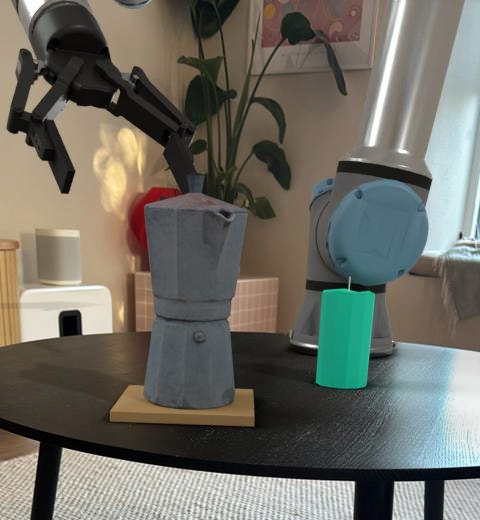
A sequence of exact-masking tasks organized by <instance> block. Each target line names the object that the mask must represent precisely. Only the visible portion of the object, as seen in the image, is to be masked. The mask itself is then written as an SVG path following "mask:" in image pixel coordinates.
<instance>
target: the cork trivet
mask: <svg viewBox="0 0 480 520" xmlns="http://www.w3.org/2000/svg"><path fill="white" fill-rule="evenodd" d="M143 393H144V385H140V384H139V385H138V384H129V385H128V386H127V388H126V389H125V390H124V391H123V393H122V394H121V396H120V397H119V398H118V400H117V401H116V403H115V404H114V405H113V406H112V408H111V409H110V411H109V422H111V423H137V424H160V425H161V424H163V425H165V424H166V425H190V426H191V425H192V426H193V425H194V426H195V425H197V426H218V427H219V426H221V427H222V426H223V427H249V428H251V427H253V428H254V427H255V398H254V397H255V396H254V389H253V388H235V399H234V401H233V402H232V403H230V404H228V405H226V406H223V407H219V408H211V409H179V408H172V407H166V406H162V405H159V404H155V403H153V402H151V401H150V400H148V399H146V398H145V397H144V395H143Z"/></svg>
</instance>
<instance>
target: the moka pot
mask: <svg viewBox="0 0 480 520" xmlns="http://www.w3.org/2000/svg"><path fill="white" fill-rule="evenodd" d="M205 178H206V177H205V175H204V174H202V173H199V172H197V173H196V172H194V173H191V174H189V175H187V181H188V187H189V193H187V194H184V195H182V194H181V195H177V196H172V197H169V198H168V197H167V196H164V195H160V196H159V199H158V200H157V201H154V202H150V203H146V204H145V205H144V206H143V213H144V222H145V233H146V243H147V254H148V262H149V270H150V271H149V273H150V282H151V291H152V295H153V313H154V315H155V317H154V319H153V321H152V325H151V333H150V340H149V341H150V342H149V350H148V355H147V356H148V357H147V363H146V369H145V377H144V385H143V386H144V393H143V395H144V397H145V398H146V399H148V400H150V401H151V402H153V403H155V404H159V405H162V406H166V407H172V408H179V409H211V408H219V407H223V406H226V405H228V404H230V403H232V402H233V401H234V399H235V389H236V385H235V374H234V364H233V363H234V362H233V351H232V349H233V348H232V338H231V337H232V336H231V326H230V325H231V324H230V320H229V319H228V318H230V317H231V313H232V300H233V299H234V298H235V296H236V290H237V285H238V280H239V279H238V278H239V272H240V267H241V258H242V253H243V246H244V241H245V235H246V229H247V223H248V217H249V213H248V210H247V209H246V208H243V207H241V206H237V205H236V204H235V205H234V204H232V203H229V202H226V201H224V200H221V199H218V198H215V197H212V196H210V195H207V194H204V193H203V188H204V183H205Z"/></svg>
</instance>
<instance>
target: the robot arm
mask: <svg viewBox="0 0 480 520" xmlns="http://www.w3.org/2000/svg"><path fill="white" fill-rule="evenodd" d="M10 1H11V4H12V5H13V8H14V10H15V12H16V14H17V16H18V20H19V21H20V23H21V26H22V28H23V30H24V33H25V35H26V37H27V40H28V42H29V44H30V46H31V49H32V51H30V50H29V49H27V48H24V47H23V48H20V49H19V51H18V56H17V60H16V61H17V62H16V67H15V72H14V73H15V78H16V84H15V88H14V92H13V96H12V99H11V103H10V106H9V112H8V117H7V122H6V126H5V129H6V131H7V132H8V133H9V134H12V135H18V134H19V133H20V132H21V133H23V134H26V135H25V139H24V143H25V144H26V145H27V146H28V147H31V148H34V150H35V153H36V154H37V157H38V158H39V160H41V161H43V162H47V163H48V165H49V168H50V171H51V173H52V176H53V177H54V179H55V182H56V185H57V187H58V189H59V192H60V194H61V195H70V191H71V188H72V185H73V182H74V178H75V176H76V169H75V166H74V164H73V162H72V159H71V157H70V155H69V152H68V150H67V148H66V145H65V143H64V140H63V138H62V137H61V136H62V135H61V134H60V132H59V129H58V127H57V124H56V121H55V119H56V118H57V116H58V115H59V113H60V112H61V111H62V112H63V111H64V110H65V109H66V107H67V106H68V105H69V103H70V102H72V103H74V104H76V106H77V107H83V108H84V107H93V108H96V109H101V110H105V111H107V112H108V113H110V114H111V115H112V116H114V117H115V118H119V117H122V118H123V119H125V120H126V121H127V122H129V123H130V124H131V125H133V126H134V127H135V128H137V129H138V130H140V132H142V133H144V134H145V135H147V136H148V137H149V138H150V139H152V140H153V141H155V143H157V144H159V145H160V146H161V147H163V148H164V149H163V151H162V156H163V158H164V160H165V161H166V164H167V165H168V168H169V170H170V172H171V174H172V176H173V179H174V181H175V183H176V184H177V187H178V189H179V191H180V193H181V195H184V194H187V193H189V187H188V181H187V175H189V174H191V173H194V172H196V173H198V171H197V169H196V167H195V166H194V162H195V157H194V155H193V153H192V150H191V149H190V146H191V144H192V142H193V140H194V137H195V135H196V132H197V130H198V128H197V126H196V125H195V124H194V123H193V122H192V121H191V120H190V119H189V118H188V117H187V116H186V115H185V114H184V113H183V112H182V111H180V109H179V108H178V107H177V106H175V104H174V103H173V102H171V100H169V99H168V98H167V97H166V96H165V95H164V94H163V93H162V92H161V91H160V90H159V88H157V86H155V85H154V83H152V82H151V81H150V79H149V77H148V76H147V74H146V73H145V71H144V69H142V68H141V67H140V66H138V65H133V66H132V69H131V71H130V72H122V71H121V70H120V69H119V68H118V67H117V66H116V65H115V64H114V63H113V61H112V58H111V51H110V47H109V44H108V41H107V39H106V37H105V34H104V32H103V30H102V28H101V26H100V24H99V21H98V20H97V18H96V15H95V13H94V11H93V9H92V7H91V5H90V3H89V1H88V0H10ZM113 1H114V2H115V3H116V4H117V5H119V6H120V7H122V8H125V9H128V10H138V9H142V8H144V7H146V6H147V5H149V4H150V3H151V2H152V1H153V0H113ZM465 2H466V0H386V4H385V7H384V12H383V16H382V22H381V26H380V29H379V35H378V38H377V44H376V49H375V53H374V56H373V57H374V58H373V62H372V66H371V71H370V75H369V80H368V84H367V88H366V93H365V98H364V102H363V107H362V111H361V116H360V121H359V125H358V130H357V134H356V137H355V143H354V145H353V147H352V148H351V149H350V150H349V151H347V152H346V153H345V154H343V155H342V156H340V158H338V162H337V167H336V172H335V174H334V177H328V178H324V179H321V180H320V181H318V182H317V183H316V184H315V185H314V186H313V188H312V191H311V199H310V200H309V201H310V202H309V205H308V206H309V207H308V210H309V226H308V227H309V229H308V242H307V243H308V245H307V256H306V257H307V260H306V274H305V290H304V297H303V300H302V303H301V306H300V308H299V311H298V314H297V317H296V319H295V321H294V324H293V327H292V328H290V330H289V335H288V337H289V348H290V349H291V350H292V351H295V352H298V353H301V354H302V353H303V354H306V355H307V354H308V355H313V356H318V344H319V330H320V316H321V302H322V292H323V291H324V290H332V289H348V288H349V277H351V279H350V290H352V291H356V292H364V291H370V292H372V293H374V294H375V301H374V312H373V322H372V333H371V343H370V354H369V358H380V357H386V356H390V355H391V354H392V353H393V351H394V350H393V348H395V347H396V343H395V342H394V337H393V336H394V335H393V331H392V327H391V326H392V325H391V322H390V317H389V312H388V308H387V307H388V306H387V302H386V293H387V284H388V283H391V282H394V281H396V280H398V279H400V278H401V277H403V276H404V275H406V274H407V273H408V272H409V271H410V270H411V269H412V268H413V267H414V266H415V265H416V264H417V263H418V261H419V260H420V258H421V257H422V255H423V253H424V250H425V249H426V245H427V241H428V237H429V225H430V224H429V217H428V213H427V209H426V208H427V203H428V199H429V195H430V191H431V187H432V184H433V179H434V176H433V174H432V172H431V170H430V169H429V167H428V165H427V163H426V155H427V151H428V148H429V145H430V140H431V136H432V132H433V128H434V124H435V120H436V117H437V113H438V109H439V105H440V99H441V96H442V93H443V88H444V86H445V82H446V77H447V73H448V70H449V65H450V62H451V58H452V53H453V50H454V45H455V41H456V37H457V34H458V30H459V25H460V22H461V18H462V14H463V10H464V5H465ZM32 52H33V54H34V56H35V58H34V56H33V54H32ZM40 77H42V78H43V80H44V82H46V83H47V84H48V85H50V86H51V87H50V88H49V90H48V91H46V93H45V94H44V96H43V97H42V98H41V100H40V101H39V102H38V103H37V104H36V106H34V108H33V109H32V110H31V112H29V111H26V108H27V105H28V100H29V97H30V94H31V89H32V86H34V85H35V82H38V81H39V78H40ZM118 90H119V94H118V98H117V100H116V102H114V101H113V100H114V98H115V97H116V94H117V93H118Z"/></svg>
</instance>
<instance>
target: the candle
mask: <svg viewBox="0 0 480 520" xmlns="http://www.w3.org/2000/svg"><path fill="white" fill-rule="evenodd" d="M350 279H351V277H349V288H348V289H332V290H324V291H323V292H322V302H321V316H320V330H319V344H318V355H317V359H316V373H315V383H316V384H318V385H319V386H322V387H327V388H332V389H333V388H334V389H344V390H345V389H346V390H347V389H348V390H349V389H361V388H362V389H363V388H366V386H367V384H368V374H369V364H370V357H369V354H370V343H371V333H372V322H373V312H374V301H375V294H374V293H372V292H370V291H364V292H356V291H352V290H350Z"/></svg>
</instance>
